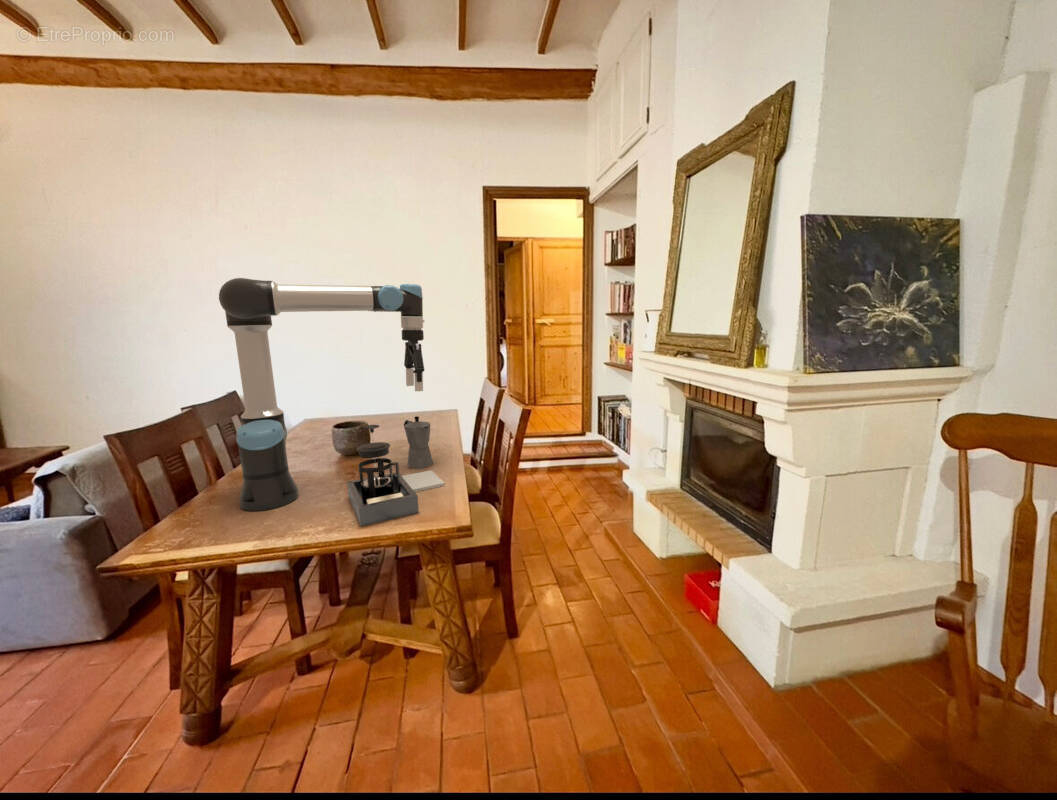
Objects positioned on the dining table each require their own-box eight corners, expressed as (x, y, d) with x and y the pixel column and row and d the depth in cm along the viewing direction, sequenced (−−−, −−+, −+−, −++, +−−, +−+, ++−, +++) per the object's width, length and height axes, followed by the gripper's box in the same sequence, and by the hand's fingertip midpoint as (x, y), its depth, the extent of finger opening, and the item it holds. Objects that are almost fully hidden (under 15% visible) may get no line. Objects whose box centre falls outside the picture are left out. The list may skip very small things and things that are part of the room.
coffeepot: (441, 465, 158) (438, 416, 155) (418, 472, 152) (414, 421, 149) (418, 456, 169) (415, 411, 166) (396, 462, 163) (392, 415, 159)
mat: (409, 493, 133) (409, 490, 133) (398, 479, 145) (398, 476, 145) (444, 485, 139) (444, 482, 139) (431, 472, 151) (431, 470, 151)
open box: (360, 526, 113) (358, 508, 112) (348, 497, 132) (347, 481, 131) (418, 512, 120) (417, 495, 119) (399, 487, 139) (398, 472, 138)
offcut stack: (368, 522, 115) (366, 505, 114) (365, 516, 119) (363, 499, 118) (410, 512, 120) (408, 496, 119) (406, 506, 124) (404, 490, 123)
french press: (354, 510, 123) (345, 430, 119) (366, 496, 132) (358, 422, 128) (396, 508, 123) (389, 429, 119) (405, 495, 132) (398, 420, 128)
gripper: (432, 330, 147) (434, 392, 151) (414, 328, 169) (416, 383, 172) (409, 330, 143) (411, 394, 147) (394, 328, 165) (397, 384, 169)
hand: (414, 388), depth 160 cm, fingers open, 13 cm apart
